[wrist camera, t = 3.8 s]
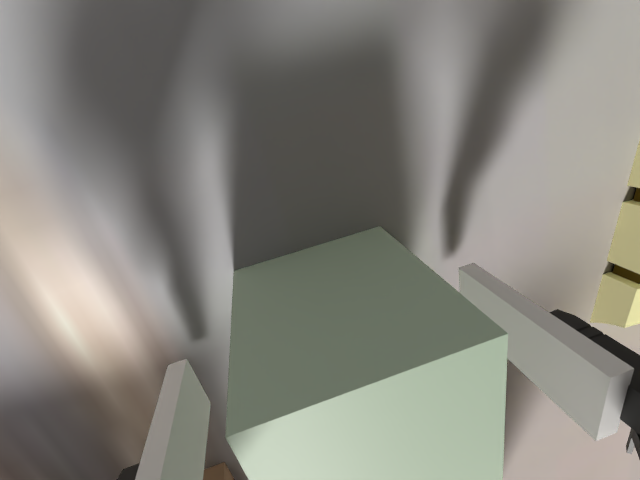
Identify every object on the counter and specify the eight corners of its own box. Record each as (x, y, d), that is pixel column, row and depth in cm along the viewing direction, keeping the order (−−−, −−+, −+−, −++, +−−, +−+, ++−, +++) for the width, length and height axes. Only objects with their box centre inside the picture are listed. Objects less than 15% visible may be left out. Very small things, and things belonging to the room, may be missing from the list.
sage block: (233, 270, 14) (225, 437, 7) (379, 225, 15) (508, 333, 8) (276, 380, 17) (302, 578, 10) (396, 337, 18) (501, 492, 11)
